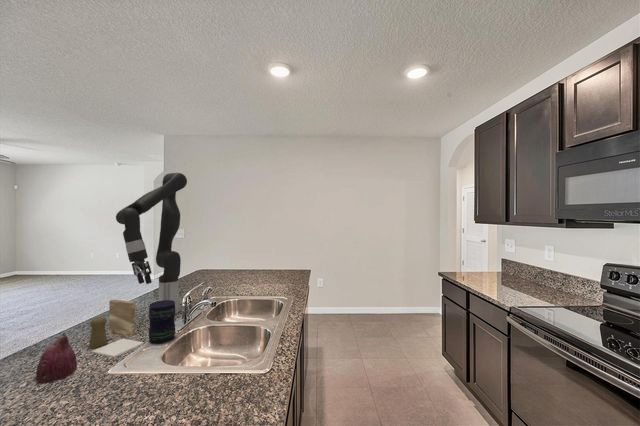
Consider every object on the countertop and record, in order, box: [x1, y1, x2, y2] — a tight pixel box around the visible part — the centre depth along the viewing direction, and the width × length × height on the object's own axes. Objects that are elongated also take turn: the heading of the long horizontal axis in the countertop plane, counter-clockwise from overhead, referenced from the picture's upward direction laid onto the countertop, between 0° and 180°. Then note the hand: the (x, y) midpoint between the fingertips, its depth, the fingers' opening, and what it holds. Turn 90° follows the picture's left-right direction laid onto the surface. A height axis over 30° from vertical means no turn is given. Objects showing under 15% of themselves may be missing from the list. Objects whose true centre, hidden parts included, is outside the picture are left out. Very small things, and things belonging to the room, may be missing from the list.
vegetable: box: [35, 332, 78, 384], centre depth 96 cm, size 10×10×15 cm
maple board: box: [106, 299, 138, 338], centre depth 129 cm, size 4×13×14 cm, turn 71°
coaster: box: [91, 338, 145, 358], centre depth 114 cm, size 12×12×1 cm
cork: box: [88, 316, 109, 350], centre depth 116 cm, size 6×6×11 cm
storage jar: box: [148, 300, 176, 345], centre depth 123 cm, size 10×10×15 cm
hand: (145, 283), depth 138 cm, fingers open, 8 cm apart
